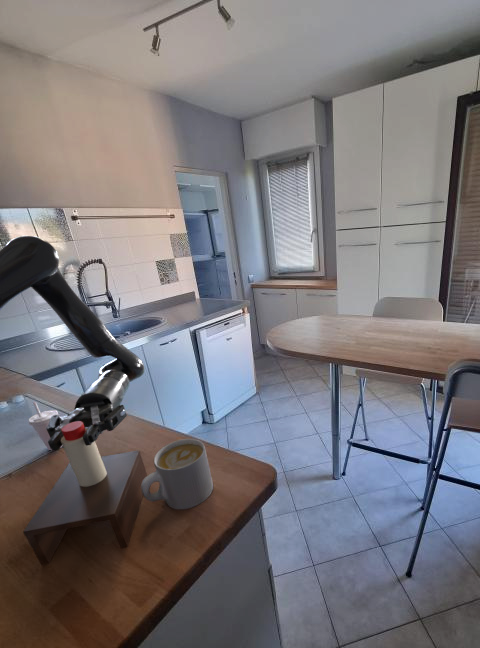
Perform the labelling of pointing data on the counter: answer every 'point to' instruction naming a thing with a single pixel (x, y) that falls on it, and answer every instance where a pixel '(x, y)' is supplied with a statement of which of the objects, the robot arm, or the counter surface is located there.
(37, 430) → the smoothie
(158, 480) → the coffee mug
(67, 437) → the spice bottle
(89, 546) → the counter surface
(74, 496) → the shelf
